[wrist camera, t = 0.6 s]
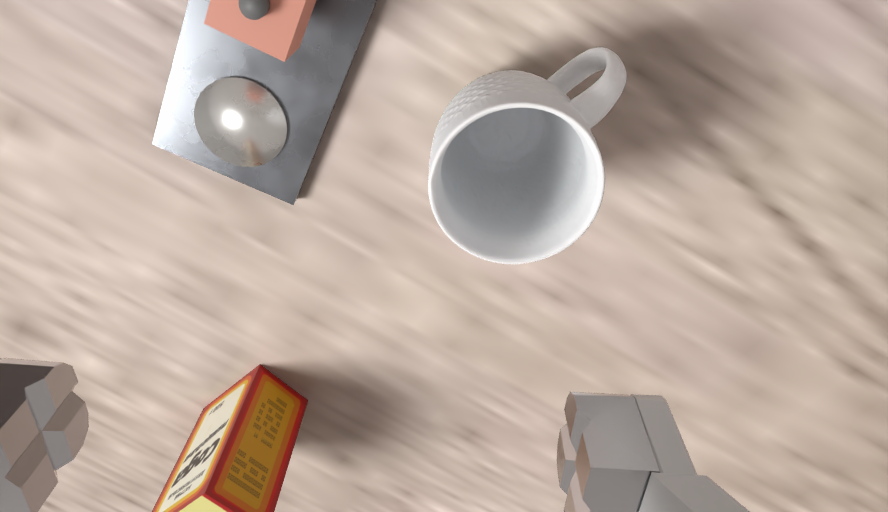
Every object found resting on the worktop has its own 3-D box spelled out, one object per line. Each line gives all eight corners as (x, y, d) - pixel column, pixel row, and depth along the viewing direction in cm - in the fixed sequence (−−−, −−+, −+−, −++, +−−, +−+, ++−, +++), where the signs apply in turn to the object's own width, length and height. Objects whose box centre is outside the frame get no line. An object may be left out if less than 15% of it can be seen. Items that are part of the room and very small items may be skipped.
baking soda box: (250, 441, 69) (197, 579, 55) (203, 408, 66) (135, 544, 52) (307, 400, 65) (266, 537, 51) (259, 364, 63) (202, 497, 49)
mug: (552, -22, 44) (583, 8, 33) (643, 90, 48) (698, 152, 36) (406, 119, 49) (389, 186, 38) (498, 209, 53) (507, 295, 42)
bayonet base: (233, -149, 40) (191, -156, 34) (400, -58, 43) (389, -50, 37) (158, 139, 51) (115, 173, 45) (296, 198, 53) (274, 239, 47)
